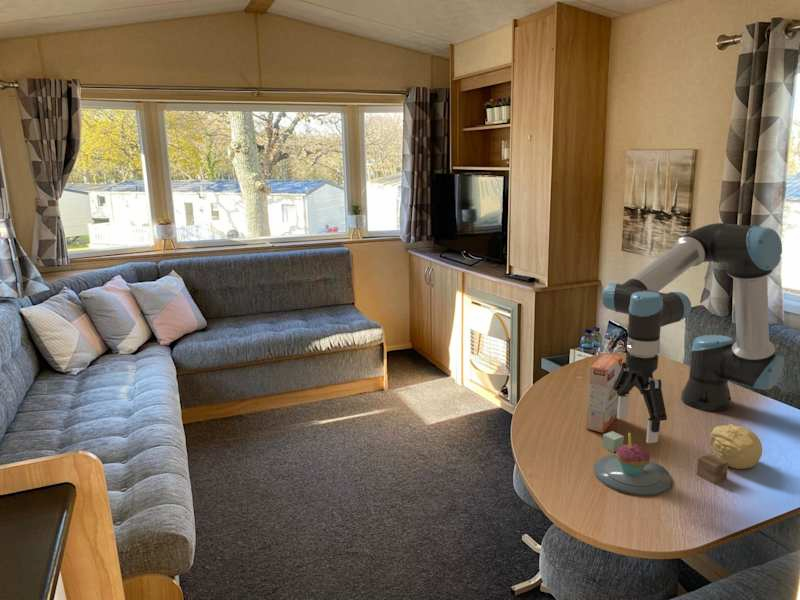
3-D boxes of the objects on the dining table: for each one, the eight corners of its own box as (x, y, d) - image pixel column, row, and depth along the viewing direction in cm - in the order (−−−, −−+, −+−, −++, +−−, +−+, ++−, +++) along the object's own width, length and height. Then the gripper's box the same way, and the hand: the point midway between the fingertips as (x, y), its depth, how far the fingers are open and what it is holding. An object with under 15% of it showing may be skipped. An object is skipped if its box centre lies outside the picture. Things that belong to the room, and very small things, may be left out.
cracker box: (604, 434, 182) (609, 369, 176) (585, 429, 185) (589, 366, 180) (618, 417, 192) (623, 356, 187) (599, 413, 196) (603, 353, 191)
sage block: (611, 443, 176) (612, 431, 175) (622, 449, 173) (623, 436, 172) (602, 446, 174) (603, 434, 173) (613, 452, 171) (614, 440, 170)
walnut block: (709, 470, 161) (711, 453, 159) (726, 479, 156) (728, 462, 155) (696, 475, 159) (698, 458, 157) (713, 484, 154) (715, 466, 153)
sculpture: (701, 458, 167) (705, 422, 164) (730, 449, 172) (735, 414, 169) (738, 478, 157) (743, 440, 154) (768, 467, 161) (774, 431, 159)
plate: (643, 454, 169) (644, 450, 169) (686, 490, 151) (687, 486, 151) (581, 461, 166) (581, 457, 166) (618, 499, 148) (618, 495, 148)
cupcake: (630, 482, 153) (634, 439, 150) (607, 466, 161) (610, 425, 158) (656, 474, 156) (660, 432, 154) (632, 459, 164) (635, 419, 161)
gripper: (603, 339, 161) (599, 410, 167) (658, 372, 138) (651, 455, 143) (628, 336, 163) (623, 408, 168) (687, 369, 139) (679, 451, 144)
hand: (636, 429), depth 156 cm, fingers open, 13 cm apart
